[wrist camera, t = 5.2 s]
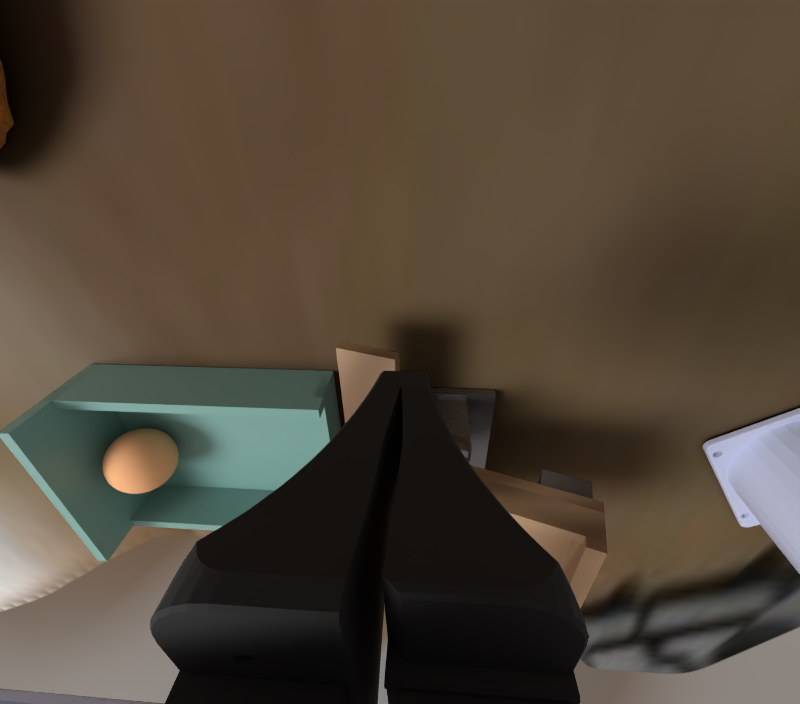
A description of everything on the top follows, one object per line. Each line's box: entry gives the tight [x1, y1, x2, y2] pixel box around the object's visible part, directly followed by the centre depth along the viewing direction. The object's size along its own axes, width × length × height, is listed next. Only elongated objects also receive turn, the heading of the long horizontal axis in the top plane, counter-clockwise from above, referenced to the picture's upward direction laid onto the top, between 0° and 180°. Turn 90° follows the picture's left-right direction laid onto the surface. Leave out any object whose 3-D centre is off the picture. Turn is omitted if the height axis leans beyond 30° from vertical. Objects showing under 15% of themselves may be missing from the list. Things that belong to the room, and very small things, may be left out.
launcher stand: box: [431, 388, 496, 469], centre depth 23 cm, size 5×9×5 cm, turn 1°
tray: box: [0, 364, 341, 561], centre depth 23 cm, size 15×11×6 cm
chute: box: [336, 342, 607, 608], centre depth 19 cm, size 13×12×4 cm
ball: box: [102, 428, 179, 494], centre depth 24 cm, size 4×4×4 cm
